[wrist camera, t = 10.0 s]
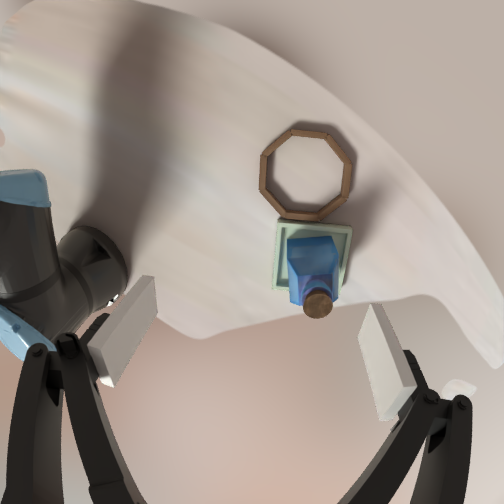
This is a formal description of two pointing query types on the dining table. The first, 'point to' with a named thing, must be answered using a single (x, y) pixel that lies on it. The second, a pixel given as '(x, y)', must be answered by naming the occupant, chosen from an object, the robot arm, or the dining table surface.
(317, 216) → the ring
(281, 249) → the tray
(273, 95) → the dining table surface
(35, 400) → the robot arm
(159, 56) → the dining table surface
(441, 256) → the dining table surface
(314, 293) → the perfume bottle
